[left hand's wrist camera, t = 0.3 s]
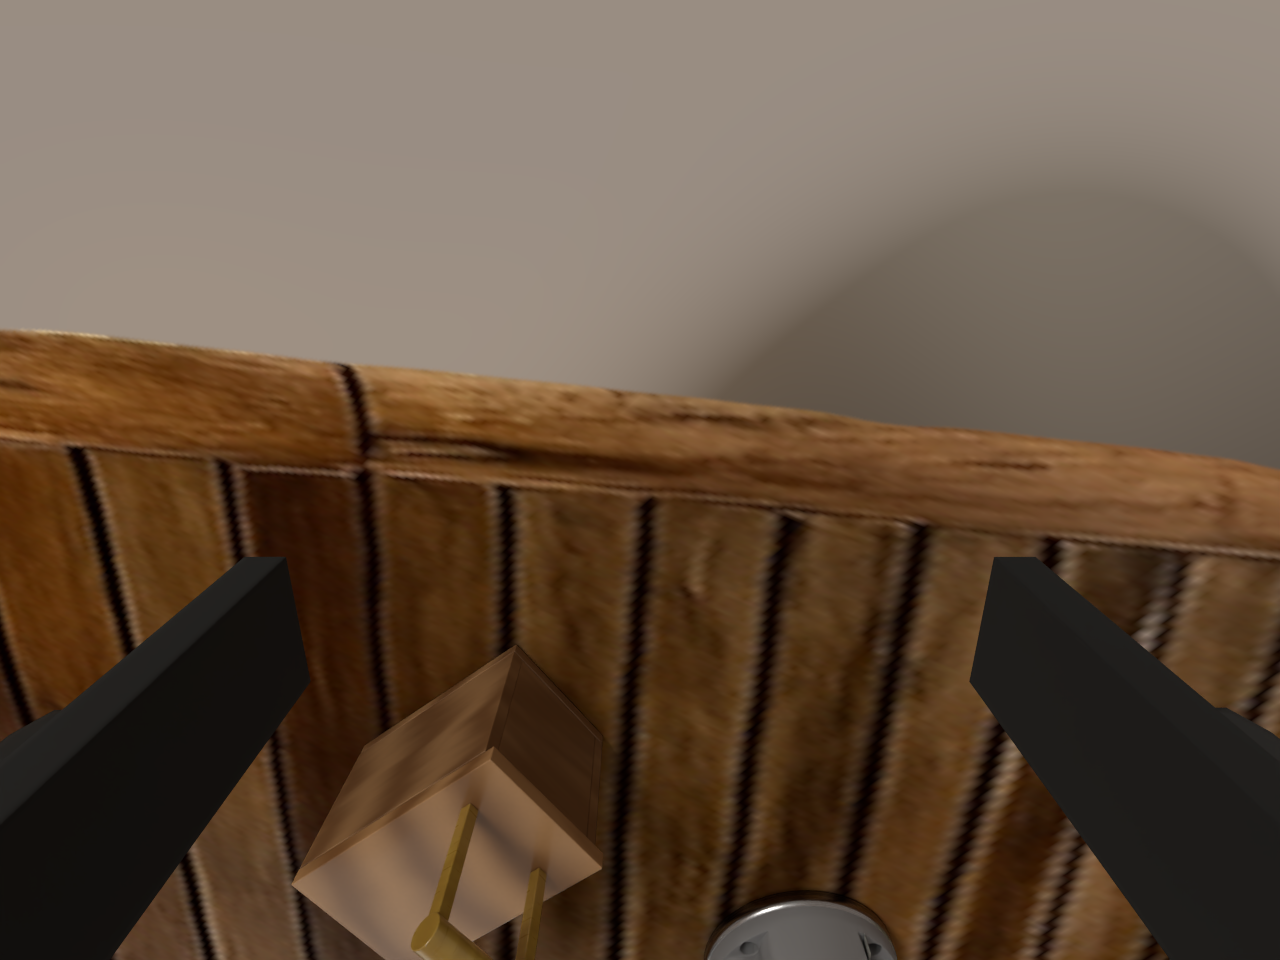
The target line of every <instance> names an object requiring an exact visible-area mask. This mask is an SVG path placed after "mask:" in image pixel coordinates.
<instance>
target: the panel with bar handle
mask: <svg viewBox="0 0 1280 960" xmlns="http://www.w3.org/2000/svg"><path fill="white" fill-rule="evenodd" d="M602 865H603V853H602V852H601V851H600V850H599V849H598V848H597V847H596V846H595V845H594V844H593V843H592V842H591V841H590V840H589V839H588V838H587V837H586V836H585V835H584V834H583V833H582V832H581V831H580V830H579V829H578V828H577V827H576V826H575V825H574V824H573V823H572V822H571V821H570V820H569V819H568V818H567V817H566V816H565V815H564V814H562V813H561V812H560V811H559V810H558V809H557V808H556V807H555V806H554V805H553V804H552V803H551V802H550V801H549V800H548V799H547V798H546V797H545V796H544V795H543V794H542V793H541V792H540V791H539V790H538V789H537V788H536V787H535V786H534V785H533V784H532V783H531V782H530V781H529V780H528V779H527V778H526V777H525V776H524V775H523V774H522V773H521V772H520V771H519V770H518V769H517V768H516V767H515V766H514V765H513V764H512V763H511V762H510V761H509V760H507V759H506V758H505V757H504V756H503V755H502V754H501V753H500V752H499V751H498V750H497V749H496V748H495V747H492V748H490V749H489V750H487V751H486V752H484V753H482V754H481V755H479V756H478V757H476V758H475V759H473V760H471V761H470V762H468V763H467V764H465V765H463V766H462V767H460V768H459V769H457V770H456V771H454V772H452V773H451V774H449V775H448V776H446V777H444V778H443V779H441V780H440V781H438V782H437V783H435V784H433V785H432V786H430V787H429V788H427V789H426V790H424V791H422V792H421V793H419V794H418V795H416V796H414V797H413V798H411V799H410V800H408V801H407V802H405V803H403V804H402V805H400V806H399V807H397V808H395V809H394V810H392V811H391V812H389V813H388V814H386V815H384V816H383V817H381V818H380V819H378V820H377V821H375V822H373V823H372V824H370V825H369V826H367V827H365V828H364V829H362V830H361V831H359V832H358V833H356V834H354V835H353V836H351V837H350V838H348V839H346V840H345V841H343V842H342V843H340V844H339V845H337V846H335V847H334V848H332V849H331V850H329V851H328V852H326V853H324V854H323V855H321V856H320V857H318V858H316V859H315V860H313V861H312V862H310V863H309V864H307V865H305V866H304V867H302V868H301V869H299V871H298V873H297V875H296V877H295V879H294V880H293V882H292V886H293V887H295V888H296V889H297V890H298V891H300V892H301V893H302V894H304V895H305V896H306V897H307V898H309V899H310V900H311V901H312V902H314V903H315V904H316V905H317V906H319V907H320V908H321V909H322V910H324V911H325V912H326V913H327V914H329V915H330V916H331V917H332V918H334V919H335V920H336V921H337V922H339V923H340V924H341V925H342V926H344V927H345V928H346V929H347V930H349V931H350V932H351V933H352V934H354V935H355V936H356V937H357V938H359V939H360V940H361V941H363V942H364V943H365V944H366V945H368V946H369V947H370V948H371V949H373V950H374V951H375V952H376V953H378V954H379V955H380V956H381V957H383V958H384V959H385V960H493V959H492V958H491V957H490V956H489V955H487V954H486V953H485V952H484V951H483V950H481V949H480V948H479V947H478V946H477V945H476V944H474V943H473V942H472V941H474V940H476V939H478V938H479V937H481V936H483V935H485V934H487V933H488V932H490V931H492V930H494V929H495V928H497V927H499V926H501V925H503V924H504V923H506V922H508V921H510V920H512V919H513V918H515V917H517V916H519V915H520V914H522V913H523V918H522V924H521V930H520V936H519V942H518V948H517V954H516V960H535V954H536V947H537V940H538V933H539V926H540V919H541V912H542V905H543V902H544V901H545V900H547V899H549V898H551V897H553V896H554V895H556V894H558V893H560V892H561V891H563V890H565V889H567V888H569V887H570V886H572V885H574V884H576V883H578V882H579V881H581V880H583V879H585V878H586V877H588V876H590V875H592V874H594V873H595V872H597V871H599V870H601V869H602Z"/></svg>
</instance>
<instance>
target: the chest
mask: <svg viewBox="0 0 1280 960" xmlns="http://www.w3.org/2000/svg"><path fill="white" fill-rule="evenodd" d="M602 742H603V736H602V734H601V733H600V732H599V731H598V730H597V729H596V728H595V727H594V726H593V725H592V724H591V723H590V722H589V721H588V720H587V719H586V718H585V716H584V715H583V714H582V713H581V712H580V711H579V710H578V709H577V708H576V707H575V706H574V705H573V704H572V703H571V702H570V701H569V700H568V698H567V697H566V696H565V695H564V694H563V693H562V692H561V691H560V690H559V689H558V688H557V687H556V686H555V685H554V684H553V683H552V682H551V680H550V679H549V678H548V677H547V676H546V675H545V674H544V673H543V672H542V671H541V670H540V669H539V668H538V667H537V666H536V665H535V663H534V662H533V661H532V660H531V659H530V658H529V657H528V656H527V655H526V654H525V653H524V652H523V651H522V650H521V649H520V648H519V647H518V645H515V646H513V647H512V648H510V649H509V650H507V651H506V652H504V653H503V654H501V655H500V656H498V657H497V658H495V659H494V660H492V661H491V662H489V663H488V664H486V665H485V666H483V667H482V668H480V669H479V670H477V671H476V672H474V673H473V674H471V675H470V676H468V677H467V678H465V679H464V680H462V681H461V682H459V683H458V684H456V685H455V686H453V687H452V688H450V689H449V690H447V691H446V692H444V693H443V694H441V695H440V696H438V697H437V698H435V699H434V700H432V701H431V702H429V703H428V704H426V705H425V706H423V707H422V708H420V709H419V710H417V711H416V712H414V713H413V714H411V715H410V716H408V717H407V718H405V719H404V720H402V721H401V722H399V723H398V724H396V725H395V726H393V727H392V728H390V729H389V730H387V731H386V732H384V733H383V734H381V735H380V736H378V737H377V738H375V739H374V740H372V741H371V742H369V743H368V744H366V745H365V746H364V748H363V750H362V752H361V754H360V755H359V757H358V759H357V761H356V763H355V764H354V766H353V768H352V770H351V772H350V774H349V776H348V778H347V780H346V782H345V783H344V785H343V787H342V789H341V791H340V793H339V795H338V797H337V799H336V801H335V802H334V804H333V806H332V808H331V810H330V812H329V814H328V816H327V818H326V819H325V821H324V823H323V825H322V827H321V829H320V831H319V833H318V835H317V837H316V838H315V840H314V842H313V844H312V846H311V848H310V850H309V852H308V854H307V856H306V857H305V859H304V861H303V863H302V865H301V867H300V868H302V867H304V866H305V865H307V864H309V863H310V862H312V861H313V860H315V859H316V858H318V857H320V856H321V855H323V854H324V853H326V852H328V851H329V850H331V849H332V848H334V847H335V846H337V845H339V844H340V843H342V842H343V841H345V840H346V839H348V838H350V837H351V836H353V835H354V834H356V833H358V832H359V831H361V830H362V829H364V828H365V827H367V826H369V825H370V824H372V823H373V822H375V821H377V820H378V819H380V818H381V817H383V816H384V815H386V814H388V813H389V812H391V811H392V810H394V809H395V808H397V807H399V806H400V805H402V804H403V803H405V802H407V801H408V800H410V799H411V798H413V797H414V796H416V795H418V794H419V793H421V792H422V791H424V790H426V789H427V788H429V787H430V786H432V785H433V784H435V783H437V782H438V781H440V780H441V779H443V778H444V777H446V776H448V775H449V774H451V773H452V772H454V771H456V770H457V769H459V768H460V767H462V766H463V765H465V764H467V763H468V762H470V761H471V760H473V759H475V758H476V757H478V756H479V755H481V754H482V753H484V752H486V751H487V750H489V749H490V748H492V747H495V748H496V749H497V750H498V751H499V752H500V753H501V754H502V755H503V756H504V757H505V758H506V759H507V760H509V761H510V762H511V763H512V764H513V765H514V766H515V767H516V768H517V769H518V770H519V771H520V772H521V773H522V774H523V775H524V776H525V777H526V778H527V779H528V780H529V781H530V782H531V783H532V784H533V785H534V786H535V787H536V788H537V789H538V790H539V791H540V792H541V793H542V794H543V795H544V796H545V797H546V798H547V799H548V800H549V801H550V802H551V803H552V804H553V805H554V806H555V807H556V808H557V809H558V810H559V811H560V812H561V813H562V814H564V815H565V816H566V817H567V818H568V819H569V820H570V821H571V822H572V823H573V824H574V825H575V826H576V827H577V828H578V829H579V830H580V831H581V832H582V833H583V834H584V835H585V836H586V837H587V838H588V839H589V840H590V841H591V842H592V843H593V844H594V845H595V840H596V826H597V812H598V798H599V784H600V770H601V756H602Z"/></svg>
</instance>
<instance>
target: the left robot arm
mask: <svg viewBox="0 0 1280 960" xmlns="http://www.w3.org/2000/svg"><path fill="white" fill-rule="evenodd" d="M309 683H310V677H309V672H308V667H307V661H306V656H305V651H304V646H303V641H302V636H301V631H300V626H299V621H298V616H297V611H296V606H295V601H294V596H293V591H292V586H291V581H290V576H289V571H288V566H287V561H286V557H244V558H243V559H242V560H240V561H239V562H238V563H237V564H236V565H234V566H233V567H232V568H231V569H230V570H228V571H227V572H226V573H225V574H224V575H223V576H221V577H220V578H219V579H218V580H217V581H215V582H214V583H213V584H212V585H211V586H209V587H208V588H207V589H206V590H205V591H203V592H202V593H201V594H200V595H199V596H198V597H196V598H195V599H194V600H193V601H192V602H190V603H189V604H188V605H187V606H186V607H184V608H183V609H182V610H181V611H180V612H178V613H177V614H176V615H175V616H174V617H173V618H171V619H170V620H169V621H168V622H167V623H165V624H164V625H163V626H162V627H161V628H159V629H158V630H157V631H156V632H155V633H153V634H152V635H151V636H150V637H149V638H147V639H146V640H145V641H144V642H143V643H142V644H140V645H139V646H138V647H137V648H136V649H134V650H133V651H132V652H131V653H130V654H128V655H127V656H126V657H125V658H124V659H122V660H121V661H120V662H119V663H118V664H117V665H115V666H114V667H113V668H112V669H111V670H109V671H108V672H107V673H106V674H105V675H103V676H102V677H101V678H100V679H99V680H97V681H96V682H95V683H94V684H93V685H91V686H90V687H89V688H88V689H87V690H86V691H84V692H83V693H82V694H81V695H80V696H78V697H77V698H76V699H75V700H74V701H72V702H71V703H70V704H69V705H68V706H66V707H65V708H64V709H63V710H54V711H52V712H50V713H48V714H47V715H45V716H43V717H41V718H39V719H38V720H36V721H34V722H32V723H30V724H28V725H27V726H25V727H23V728H21V729H19V730H18V731H16V732H14V733H12V734H10V735H9V736H8V737H6V738H5V739H4V740H3V741H1V742H0V960H110V959H111V957H112V956H113V954H114V953H115V952H116V950H117V949H118V948H119V946H120V945H121V943H122V942H123V941H124V939H125V938H126V936H127V935H128V934H129V932H130V931H131V929H132V928H133V927H134V925H135V924H136V923H137V921H138V920H139V918H140V917H141V916H142V914H143V913H144V911H145V910H146V909H147V907H148V906H149V905H150V903H151V902H152V900H153V899H154V898H155V896H156V895H157V893H158V892H159V891H160V889H161V888H162V887H163V885H164V884H165V882H166V881H167V880H168V878H169V877H170V875H171V874H172V873H173V871H174V870H175V869H176V867H177V866H178V864H179V863H180V862H181V860H182V859H183V857H184V856H185V855H186V853H187V852H188V851H189V849H190V848H191V846H192V845H193V844H194V842H195V841H196V839H197V838H198V837H199V835H200V834H201V833H202V831H203V830H204V828H205V827H206V826H207V824H208V823H209V821H210V820H211V819H212V817H213V816H214V815H215V813H216V812H217V810H218V809H219V808H220V806H221V805H222V803H223V802H224V801H225V799H226V798H227V797H228V795H229V794H230V792H231V791H232V790H233V788H234V787H235V785H236V784H237V783H238V781H239V780H240V779H241V777H242V776H243V774H244V773H245V772H246V770H247V769H248V767H249V766H250V765H251V763H252V762H253V760H254V759H255V758H256V756H257V755H258V754H259V752H260V751H261V749H262V748H263V747H264V745H265V744H266V742H267V741H268V740H269V738H270V737H271V736H272V734H273V733H274V731H275V730H276V729H277V727H278V726H279V724H280V723H281V722H282V720H283V719H284V718H285V716H286V715H287V713H288V712H289V711H290V709H291V708H292V706H293V705H294V704H295V702H296V701H297V700H298V698H299V697H300V695H301V694H302V693H303V691H304V690H305V688H306V687H307V686H308V684H309ZM970 683H971V684H972V686H973V687H974V688H975V690H976V691H977V693H978V694H979V695H980V697H981V698H982V700H983V701H984V702H985V704H986V705H987V706H988V708H989V709H990V711H991V712H992V713H993V715H994V716H995V718H996V719H997V720H998V722H999V723H1000V724H1001V726H1002V727H1003V729H1004V730H1005V731H1006V733H1007V734H1008V736H1009V737H1010V738H1011V740H1012V741H1013V742H1014V744H1015V745H1016V747H1017V748H1018V749H1019V751H1020V752H1021V754H1022V755H1023V756H1024V758H1025V759H1026V760H1027V762H1028V763H1029V765H1030V766H1031V767H1032V769H1033V770H1034V772H1035V773H1036V774H1037V776H1038V777H1039V779H1040V780H1041V781H1042V783H1043V784H1044V785H1045V787H1046V788H1047V790H1048V791H1049V792H1050V794H1051V795H1052V797H1053V798H1054V799H1055V801H1056V802H1057V803H1058V805H1059V806H1060V808H1061V809H1062V810H1063V812H1064V813H1065V815H1066V816H1067V817H1068V819H1069V820H1070V821H1071V823H1072V824H1073V826H1074V827H1075V828H1076V830H1077V831H1078V833H1079V834H1080V835H1081V837H1082V838H1083V839H1084V841H1085V842H1086V844H1087V845H1088V846H1089V848H1090V849H1091V851H1092V852H1093V853H1094V855H1095V856H1096V857H1097V859H1098V860H1099V862H1100V863H1101V864H1102V866H1103V867H1104V869H1105V870H1106V871H1107V873H1108V874H1109V875H1110V877H1111V878H1112V880H1113V881H1114V882H1115V884H1116V885H1117V887H1118V888H1119V889H1120V891H1121V892H1122V893H1123V895H1124V896H1125V898H1126V899H1127V900H1128V902H1129V903H1130V905H1131V906H1132V907H1133V909H1134V910H1135V911H1136V913H1137V914H1138V916H1139V917H1140V918H1141V920H1142V921H1143V923H1144V924H1145V925H1146V927H1147V928H1148V929H1149V931H1150V932H1151V934H1152V935H1153V936H1154V938H1155V939H1156V941H1157V942H1158V943H1159V945H1160V946H1161V948H1162V949H1163V950H1164V952H1165V953H1166V954H1167V956H1168V957H1169V959H1170V960H1280V739H1279V738H1278V737H1277V736H1275V735H1274V734H1273V733H1271V732H1270V731H1268V730H1266V729H1264V728H1262V727H1260V726H1259V725H1257V724H1255V723H1253V722H1251V721H1250V720H1248V719H1246V718H1244V717H1242V716H1240V715H1239V714H1237V713H1235V712H1233V711H1231V710H1229V709H1228V708H1215V707H1214V706H1212V705H1211V704H1210V703H1209V702H1208V701H1206V700H1205V699H1204V698H1203V697H1202V696H1200V695H1199V694H1198V693H1197V692H1196V691H1194V690H1193V689H1192V688H1191V687H1190V686H1189V685H1187V684H1186V683H1185V682H1184V681H1183V680H1181V679H1180V678H1179V677H1178V676H1177V675H1175V674H1174V673H1173V672H1172V671H1171V670H1169V669H1168V668H1167V667H1166V666H1165V665H1163V664H1162V663H1161V662H1160V661H1159V660H1158V659H1156V658H1155V657H1154V656H1153V655H1152V654H1150V653H1149V652H1148V651H1147V650H1146V649H1144V648H1143V647H1142V646H1141V645H1140V644H1138V643H1137V642H1136V641H1135V640H1134V639H1133V638H1131V637H1130V636H1129V635H1128V634H1127V633H1125V632H1124V631H1123V630H1122V629H1121V628H1119V627H1118V626H1117V625H1116V624H1115V623H1113V622H1112V621H1111V620H1110V619H1109V618H1107V617H1106V616H1105V615H1104V614H1103V613H1102V612H1100V611H1099V610H1098V609H1097V608H1096V607H1094V606H1093V605H1092V604H1091V603H1090V602H1088V601H1087V600H1086V599H1085V598H1084V597H1082V596H1081V595H1080V594H1079V593H1078V592H1077V591H1075V590H1074V589H1073V588H1072V587H1071V586H1069V585H1068V584H1067V583H1066V582H1065V581H1063V580H1062V579H1061V578H1060V577H1059V576H1057V575H1056V574H1055V573H1054V572H1053V571H1051V570H1050V569H1049V568H1048V567H1047V566H1046V565H1044V564H1043V563H1042V562H1041V561H1040V560H1038V559H1037V558H1036V557H994V561H993V566H992V571H991V576H990V581H989V586H988V591H987V596H986V601H985V606H984V611H983V616H982V621H981V626H980V631H979V636H978V641H977V646H976V651H975V656H974V661H973V667H972V672H971V677H970ZM704 960H897V956H896V952H895V949H894V946H893V944H892V941H891V938H890V935H889V933H888V931H887V929H886V927H885V925H884V924H883V922H882V921H881V920H880V919H879V918H878V917H877V916H876V915H875V914H874V913H873V912H872V911H871V910H869V909H868V908H867V907H865V906H863V905H862V904H860V903H858V902H856V901H854V900H852V899H849V898H846V897H843V896H840V895H836V894H832V893H827V892H819V891H792V892H784V893H778V894H774V895H770V896H767V897H764V898H760V899H758V900H755V901H753V902H751V903H749V904H747V905H745V906H743V907H741V908H739V909H738V910H736V911H735V912H733V913H732V914H731V915H729V916H728V917H727V918H726V919H725V920H723V921H722V922H721V924H720V925H719V926H718V927H717V928H716V929H715V931H714V932H713V934H712V935H711V937H710V939H709V941H708V943H707V946H706V949H705V954H704Z"/></svg>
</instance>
